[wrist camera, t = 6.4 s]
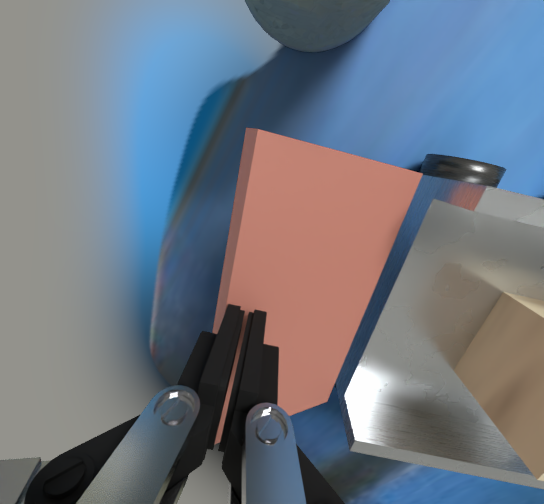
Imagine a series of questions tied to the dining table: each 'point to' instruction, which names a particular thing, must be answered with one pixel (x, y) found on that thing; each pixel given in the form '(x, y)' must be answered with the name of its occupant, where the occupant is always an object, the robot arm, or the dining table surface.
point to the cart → (441, 322)
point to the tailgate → (308, 254)
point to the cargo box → (511, 374)
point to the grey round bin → (314, 21)
